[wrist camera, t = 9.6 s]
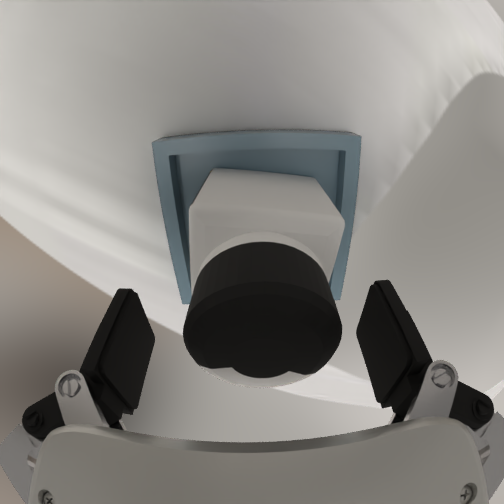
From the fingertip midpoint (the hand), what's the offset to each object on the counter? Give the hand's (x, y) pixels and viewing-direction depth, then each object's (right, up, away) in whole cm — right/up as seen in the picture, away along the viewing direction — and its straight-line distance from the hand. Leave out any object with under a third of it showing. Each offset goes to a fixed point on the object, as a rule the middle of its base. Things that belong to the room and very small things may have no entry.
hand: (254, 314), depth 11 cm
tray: (0, +5, +10) cm, 11 cm away
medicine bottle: (0, +5, +9) cm, 10 cm away
